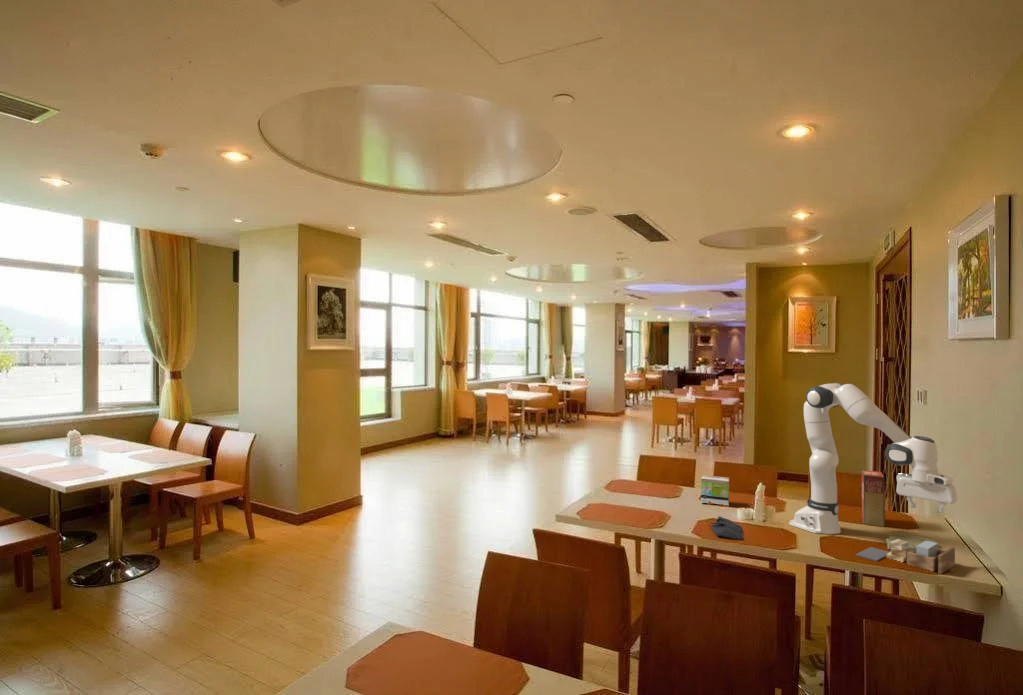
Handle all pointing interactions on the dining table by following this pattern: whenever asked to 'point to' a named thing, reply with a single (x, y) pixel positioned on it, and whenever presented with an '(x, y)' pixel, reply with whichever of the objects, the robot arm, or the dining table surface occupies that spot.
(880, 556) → the mat
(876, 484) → the food packaging
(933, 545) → the light blue rectangular block
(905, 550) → the offcut middle
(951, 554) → the rack
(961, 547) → the dining table surface
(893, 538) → the decorative tile
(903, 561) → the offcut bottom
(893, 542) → the offcut top
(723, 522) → the dark slate chunk
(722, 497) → the tea box
